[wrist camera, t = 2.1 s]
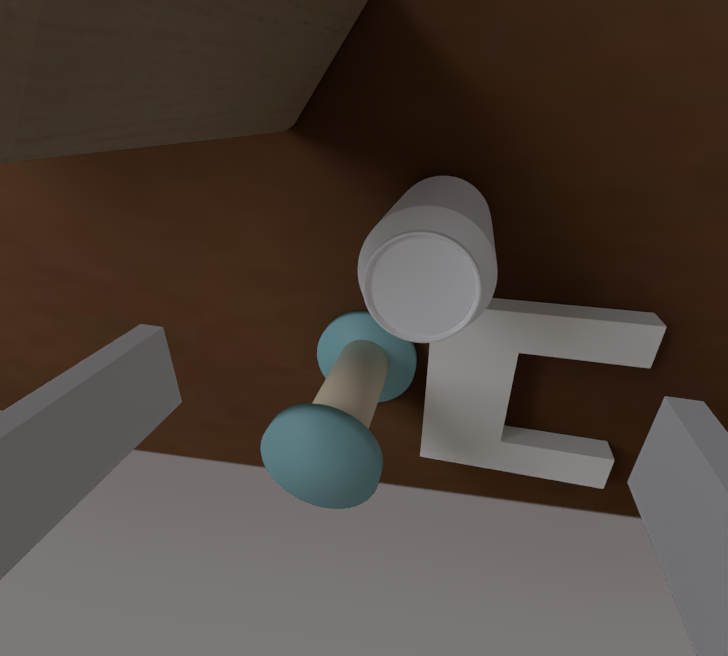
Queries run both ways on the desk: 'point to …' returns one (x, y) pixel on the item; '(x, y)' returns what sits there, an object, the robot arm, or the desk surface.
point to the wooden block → (158, 70)
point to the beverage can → (430, 261)
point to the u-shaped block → (495, 377)
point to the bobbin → (340, 415)
